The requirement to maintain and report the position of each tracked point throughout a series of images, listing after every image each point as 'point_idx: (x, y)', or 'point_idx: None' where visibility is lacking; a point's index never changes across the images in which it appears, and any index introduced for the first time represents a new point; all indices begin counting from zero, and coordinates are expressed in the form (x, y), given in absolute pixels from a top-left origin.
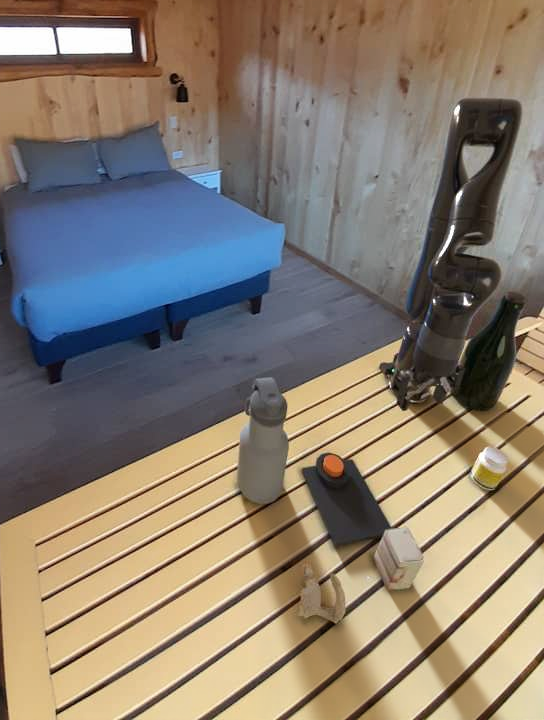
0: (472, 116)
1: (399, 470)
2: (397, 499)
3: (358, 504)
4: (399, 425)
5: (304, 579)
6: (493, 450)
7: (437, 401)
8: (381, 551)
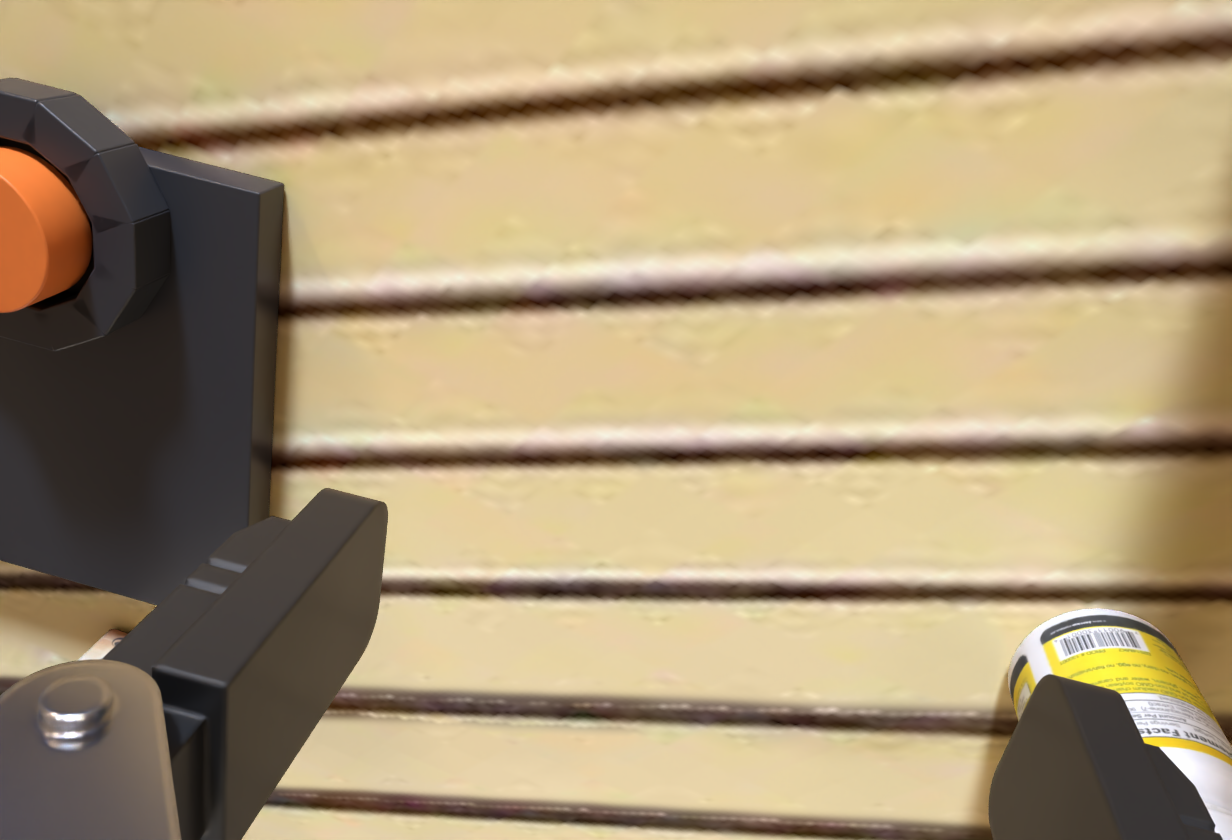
0: None
1: (595, 380)
2: (429, 502)
3: (131, 452)
4: (977, 62)
5: None
6: None
7: (1008, 782)
8: None
